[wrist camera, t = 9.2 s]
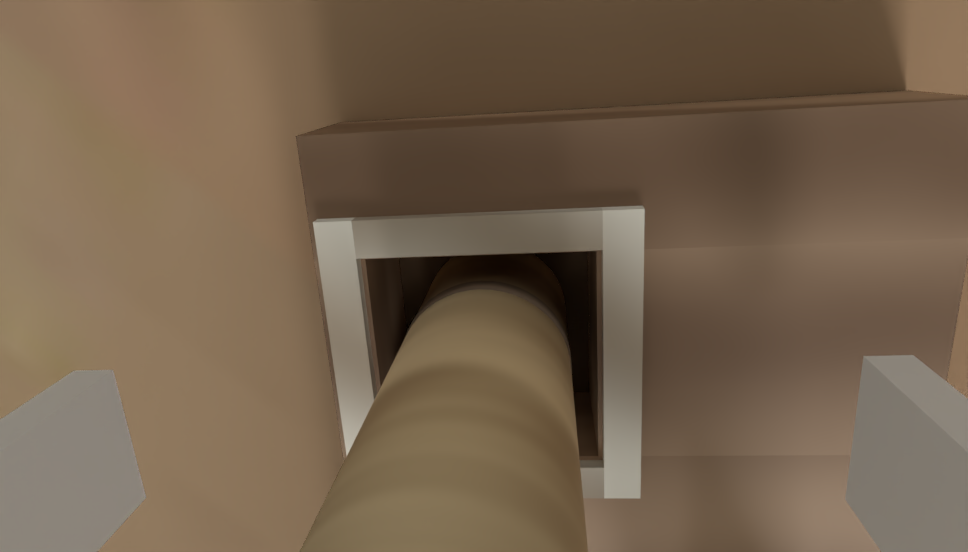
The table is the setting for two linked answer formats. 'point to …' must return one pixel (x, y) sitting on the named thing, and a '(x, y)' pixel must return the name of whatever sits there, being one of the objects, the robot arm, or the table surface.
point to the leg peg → (468, 425)
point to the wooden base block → (675, 285)
